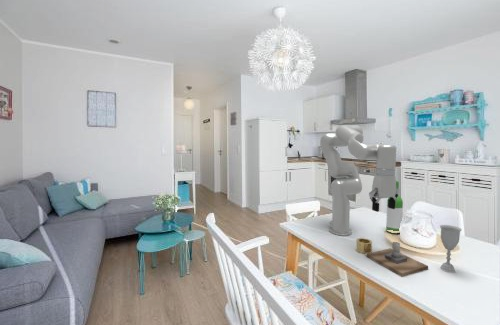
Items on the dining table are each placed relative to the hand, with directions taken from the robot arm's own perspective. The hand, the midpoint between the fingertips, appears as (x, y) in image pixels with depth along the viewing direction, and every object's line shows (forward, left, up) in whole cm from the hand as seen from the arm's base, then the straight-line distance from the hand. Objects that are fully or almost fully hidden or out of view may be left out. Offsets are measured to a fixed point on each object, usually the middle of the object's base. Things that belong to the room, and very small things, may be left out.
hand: (383, 209), depth 111 cm
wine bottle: (-20, +32, -23) cm, 44 cm away
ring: (-8, -2, -23) cm, 24 cm away
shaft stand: (+6, +2, -23) cm, 23 cm away
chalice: (+18, +17, -23) cm, 33 cm away
